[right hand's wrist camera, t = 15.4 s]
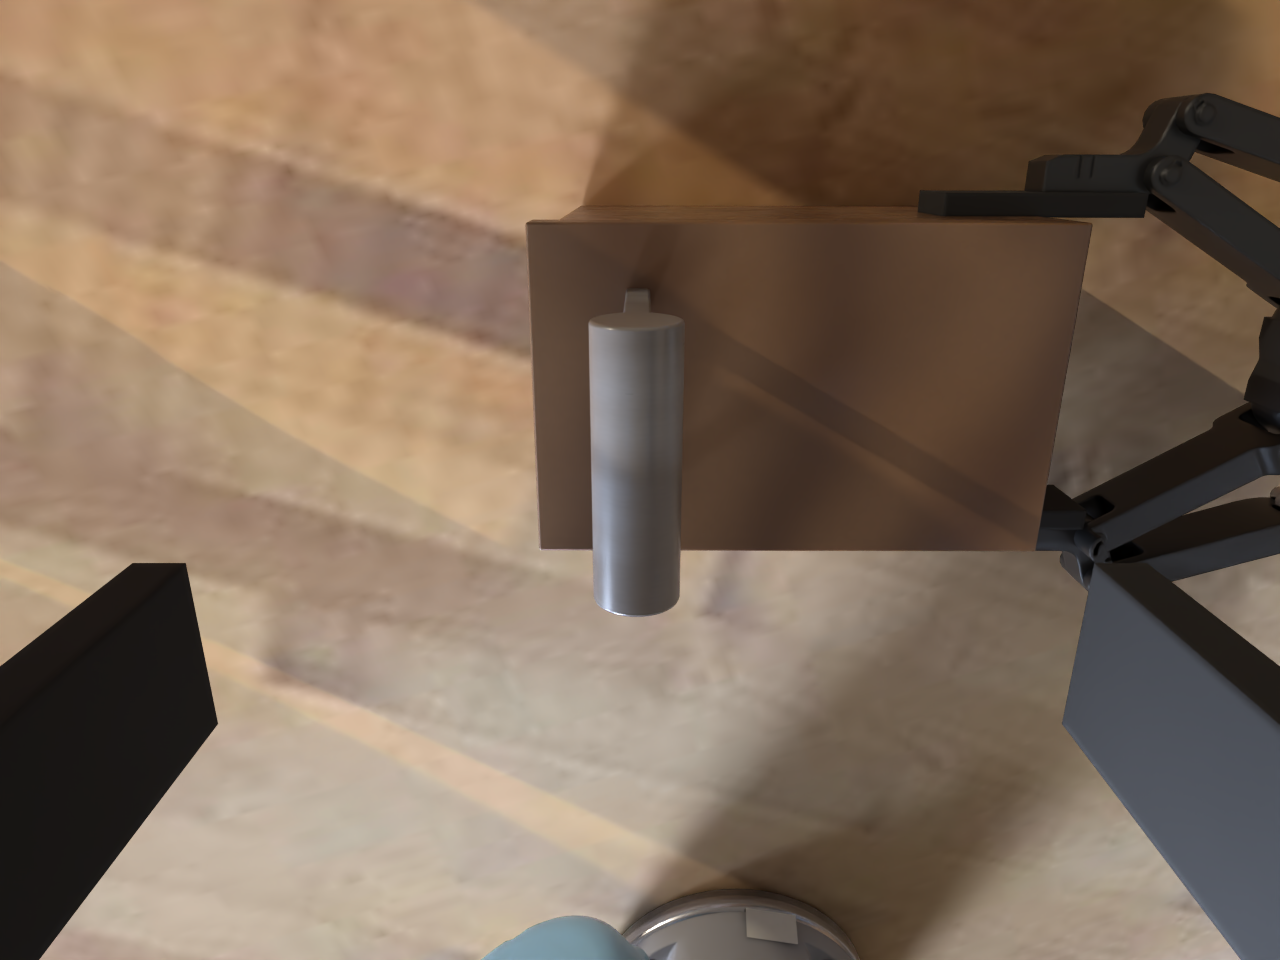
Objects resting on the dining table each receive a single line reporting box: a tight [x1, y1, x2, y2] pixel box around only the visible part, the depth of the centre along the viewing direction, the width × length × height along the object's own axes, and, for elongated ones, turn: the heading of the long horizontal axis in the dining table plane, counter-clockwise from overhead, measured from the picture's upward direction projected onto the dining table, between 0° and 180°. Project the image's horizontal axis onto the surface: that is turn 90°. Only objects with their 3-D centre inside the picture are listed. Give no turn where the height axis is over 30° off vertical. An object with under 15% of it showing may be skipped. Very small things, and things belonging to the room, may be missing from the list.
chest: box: [560, 206, 1069, 221], centre depth 32 cm, size 15×10×10 cm
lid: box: [526, 220, 1092, 617], centre depth 23 cm, size 16×10×9 cm, turn 90°
